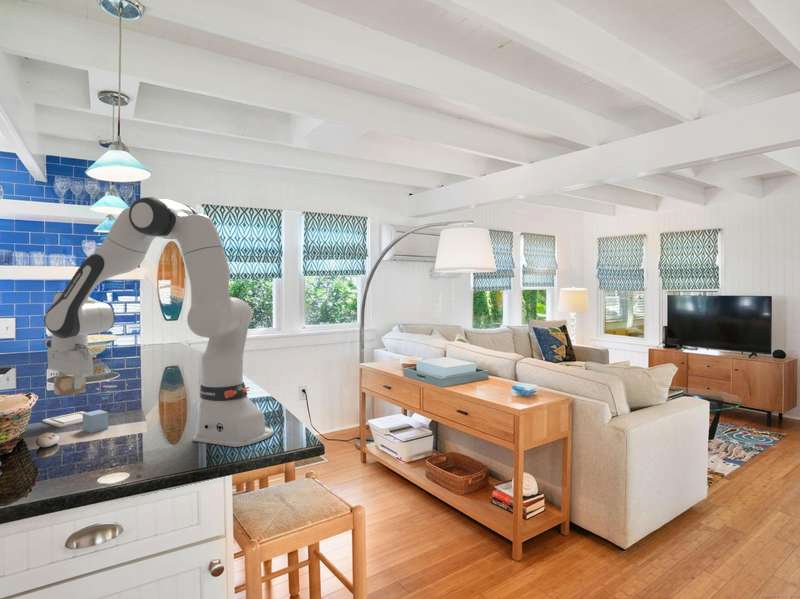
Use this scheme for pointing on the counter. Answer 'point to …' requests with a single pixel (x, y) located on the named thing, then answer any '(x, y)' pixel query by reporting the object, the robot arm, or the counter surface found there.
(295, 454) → the counter surface
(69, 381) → the oak block
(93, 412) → the blue cube
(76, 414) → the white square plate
